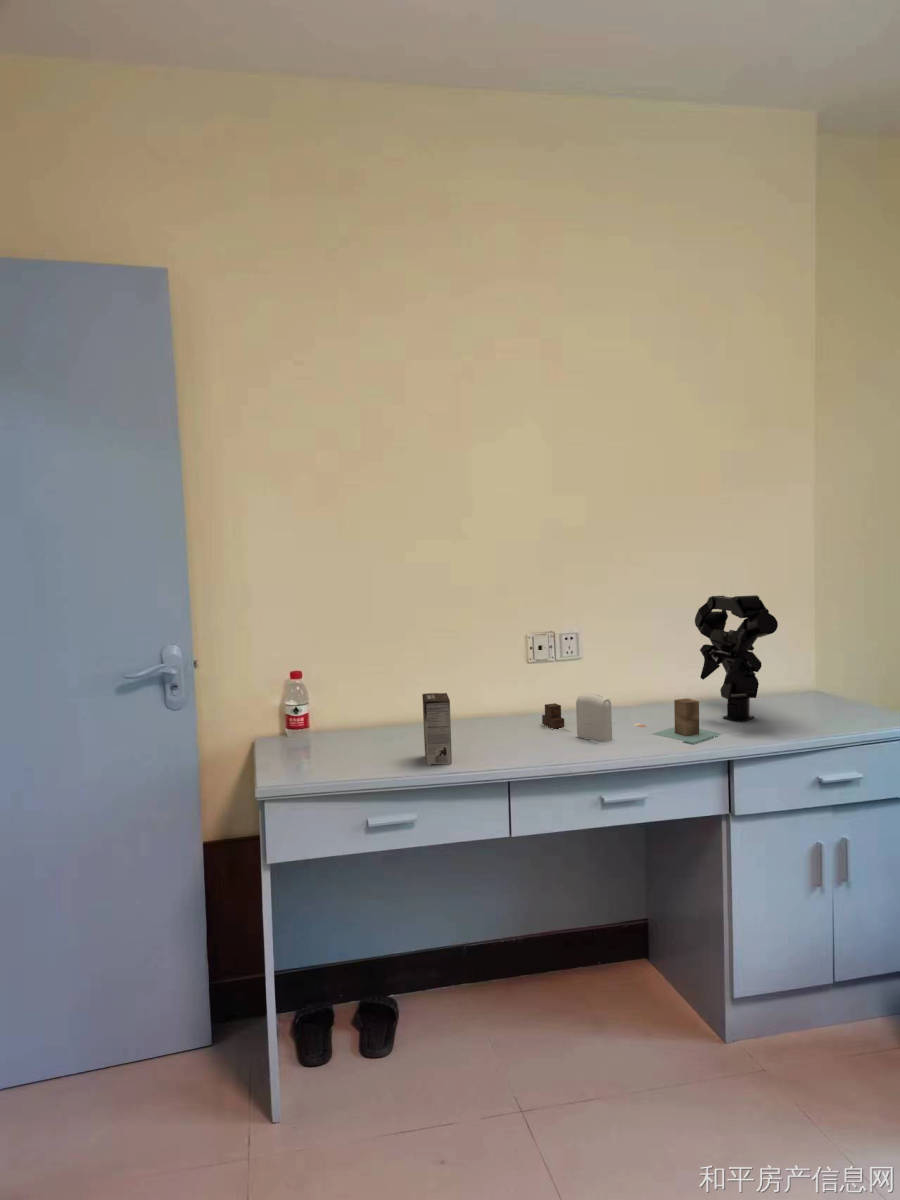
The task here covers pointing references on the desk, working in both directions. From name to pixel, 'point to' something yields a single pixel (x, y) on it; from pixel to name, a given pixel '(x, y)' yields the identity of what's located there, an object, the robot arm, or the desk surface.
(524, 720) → the desk surface
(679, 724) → the walnut block
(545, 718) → the stack of crates
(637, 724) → the tile
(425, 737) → the coffee box
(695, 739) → the teal pad
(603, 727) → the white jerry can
